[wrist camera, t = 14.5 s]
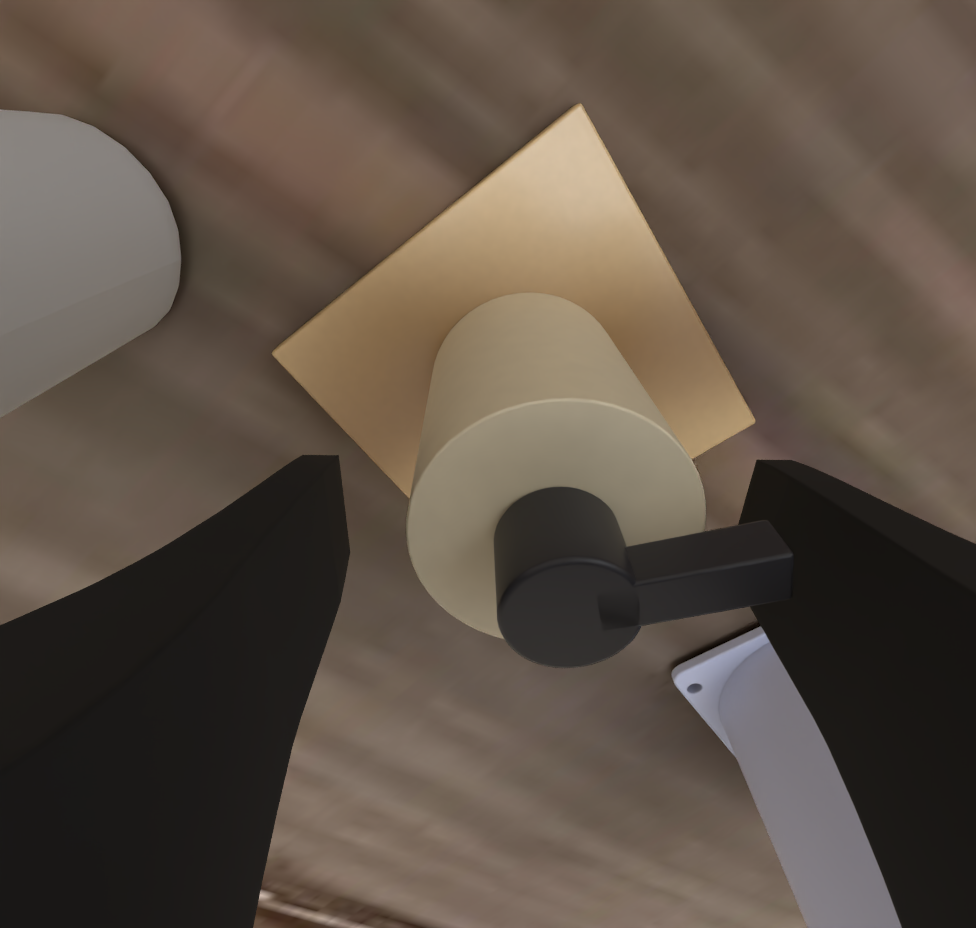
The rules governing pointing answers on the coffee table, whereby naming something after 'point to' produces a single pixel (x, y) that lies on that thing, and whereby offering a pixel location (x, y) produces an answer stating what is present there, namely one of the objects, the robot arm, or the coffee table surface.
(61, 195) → the beverage can
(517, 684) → the coffee table surface
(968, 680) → the robot arm
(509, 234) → the coaster
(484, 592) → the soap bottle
